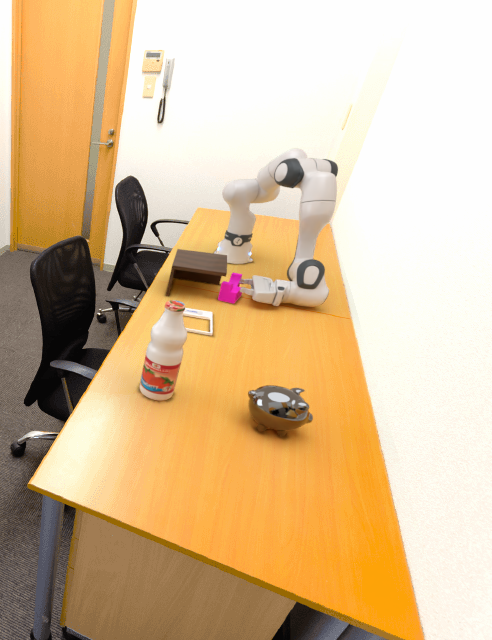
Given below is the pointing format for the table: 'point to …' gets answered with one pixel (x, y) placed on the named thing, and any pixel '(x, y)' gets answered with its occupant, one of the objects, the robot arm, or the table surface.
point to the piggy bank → (278, 408)
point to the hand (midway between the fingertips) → (239, 285)
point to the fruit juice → (164, 353)
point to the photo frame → (202, 315)
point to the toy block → (230, 289)
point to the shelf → (197, 267)
